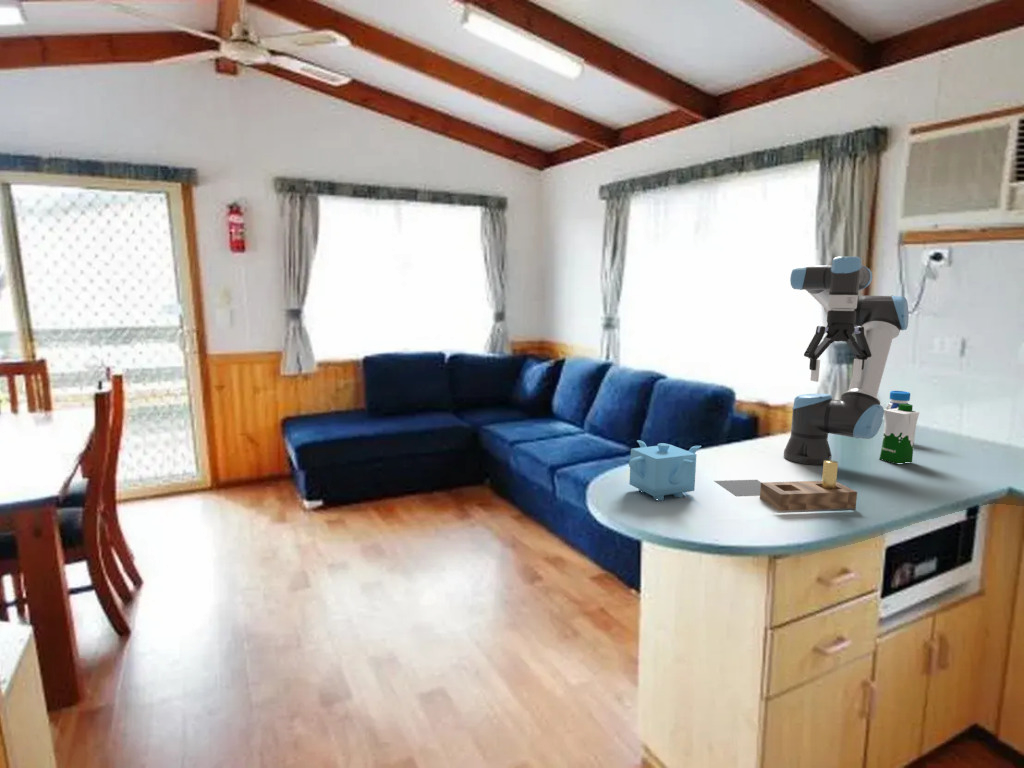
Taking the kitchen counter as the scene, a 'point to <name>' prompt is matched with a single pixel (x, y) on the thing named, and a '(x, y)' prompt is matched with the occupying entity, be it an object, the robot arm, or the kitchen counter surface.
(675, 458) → the teakettle
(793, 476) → the kitchen counter surface
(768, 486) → the hole block
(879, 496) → the kitchen counter surface
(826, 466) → the peg
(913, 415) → the milk carton
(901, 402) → the beverage bottle
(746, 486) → the mat
